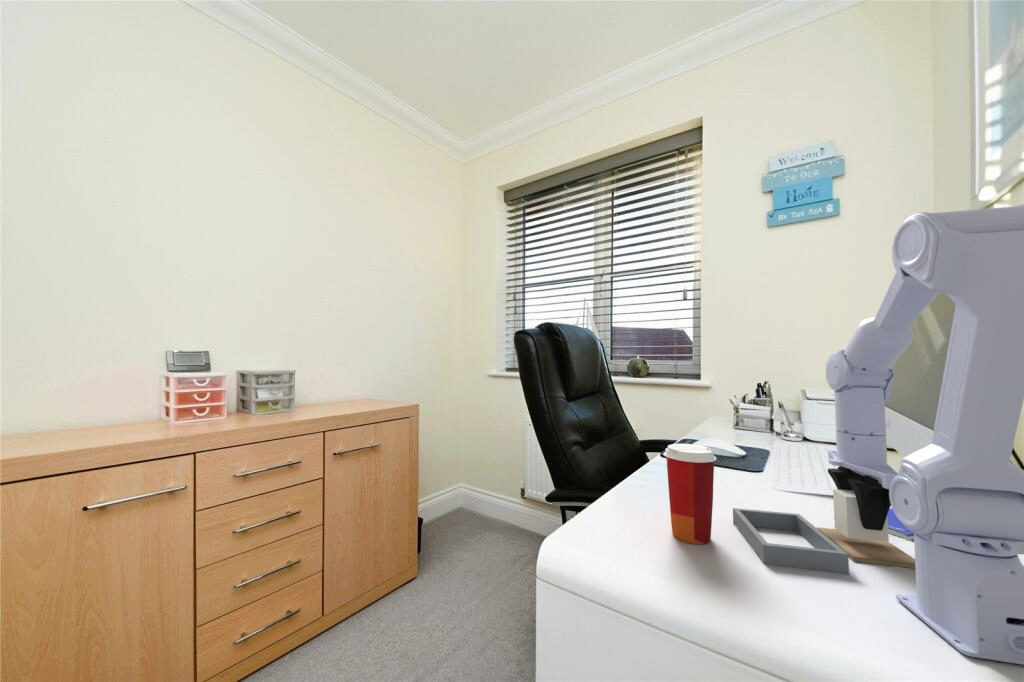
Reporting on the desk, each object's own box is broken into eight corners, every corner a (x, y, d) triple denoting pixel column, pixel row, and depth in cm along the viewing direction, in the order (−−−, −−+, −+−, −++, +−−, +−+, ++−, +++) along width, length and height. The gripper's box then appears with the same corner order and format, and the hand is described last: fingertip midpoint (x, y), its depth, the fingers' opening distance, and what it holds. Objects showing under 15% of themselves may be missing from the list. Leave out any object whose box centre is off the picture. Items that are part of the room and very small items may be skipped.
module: (888, 541, 56) (886, 499, 56) (848, 537, 57) (846, 496, 58) (873, 531, 60) (871, 491, 60) (834, 527, 61) (833, 489, 61)
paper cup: (712, 529, 64) (710, 444, 65) (723, 551, 57) (721, 455, 58) (662, 523, 67) (660, 441, 67) (667, 544, 59) (665, 451, 60)
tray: (849, 573, 51) (848, 554, 51) (763, 563, 54) (763, 544, 54) (799, 529, 65) (799, 514, 65) (733, 522, 67) (732, 508, 67)
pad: (923, 569, 52) (923, 564, 52) (853, 561, 54) (853, 556, 54) (875, 536, 62) (874, 532, 62) (816, 531, 64) (816, 527, 64)
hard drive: (908, 533, 61) (954, 523, 65) (849, 513, 69) (894, 506, 73) (908, 543, 61) (955, 533, 65) (849, 522, 69) (894, 514, 73)
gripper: (806, 423, 67) (809, 503, 66) (858, 440, 53) (862, 541, 52) (855, 425, 65) (858, 507, 65) (921, 443, 51) (926, 548, 51)
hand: (863, 523), depth 58 cm, fingers closed on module, 3 cm apart
